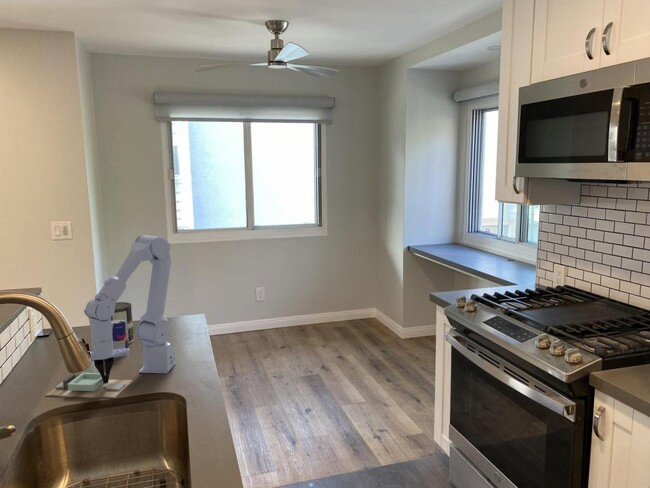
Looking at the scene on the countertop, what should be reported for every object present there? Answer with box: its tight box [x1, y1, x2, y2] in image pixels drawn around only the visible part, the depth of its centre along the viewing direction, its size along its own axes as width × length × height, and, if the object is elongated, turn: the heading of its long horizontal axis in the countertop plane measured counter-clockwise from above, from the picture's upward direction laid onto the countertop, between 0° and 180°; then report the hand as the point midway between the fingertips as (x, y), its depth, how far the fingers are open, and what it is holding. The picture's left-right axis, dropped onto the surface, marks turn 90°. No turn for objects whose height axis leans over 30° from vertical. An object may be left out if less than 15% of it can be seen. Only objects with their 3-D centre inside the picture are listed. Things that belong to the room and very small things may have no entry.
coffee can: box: [111, 301, 135, 345], centre depth 187 cm, size 10×10×14 cm
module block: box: [78, 351, 99, 376], centre depth 161 cm, size 5×5×6 cm
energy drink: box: [111, 319, 129, 349], centre depth 176 cm, size 5×5×12 cm
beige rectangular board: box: [45, 373, 134, 399], centre depth 150 cm, size 21×11×3 cm, turn 85°
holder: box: [68, 372, 103, 391], centre depth 149 cm, size 8×8×2 cm
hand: (105, 382), depth 149 cm, fingers closed
